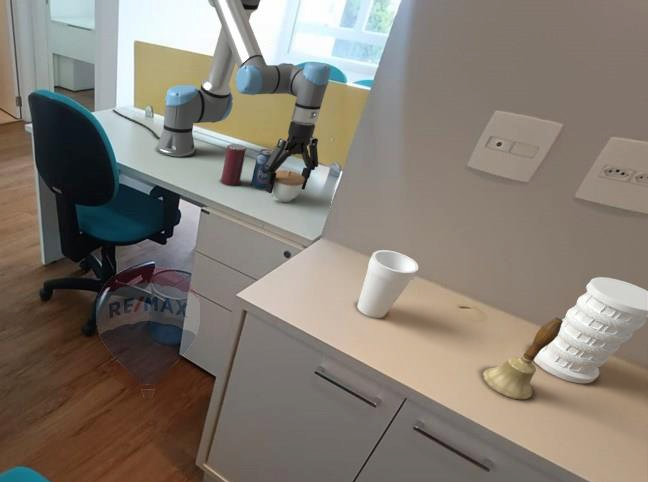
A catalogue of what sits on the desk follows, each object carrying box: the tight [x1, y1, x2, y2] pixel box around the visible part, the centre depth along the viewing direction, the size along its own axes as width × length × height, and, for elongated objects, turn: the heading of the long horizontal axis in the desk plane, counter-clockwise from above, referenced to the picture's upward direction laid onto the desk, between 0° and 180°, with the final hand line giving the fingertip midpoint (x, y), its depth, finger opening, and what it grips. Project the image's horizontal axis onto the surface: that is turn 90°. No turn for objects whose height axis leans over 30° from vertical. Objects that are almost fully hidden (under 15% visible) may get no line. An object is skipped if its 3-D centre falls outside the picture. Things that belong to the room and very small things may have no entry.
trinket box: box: [270, 169, 305, 203], centre depth 148 cm, size 11×11×9 cm
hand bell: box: [482, 317, 563, 400], centre depth 82 cm, size 8×8×16 cm
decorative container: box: [533, 276, 648, 384], centre depth 87 cm, size 12×12×18 cm
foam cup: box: [356, 249, 419, 319], centre depth 99 cm, size 10×9×13 cm
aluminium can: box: [220, 143, 247, 187], centre depth 155 cm, size 7×7×12 cm
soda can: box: [250, 148, 274, 191], centre depth 154 cm, size 7×7×12 cm
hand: (285, 189), depth 149 cm, fingers open, 13 cm apart
